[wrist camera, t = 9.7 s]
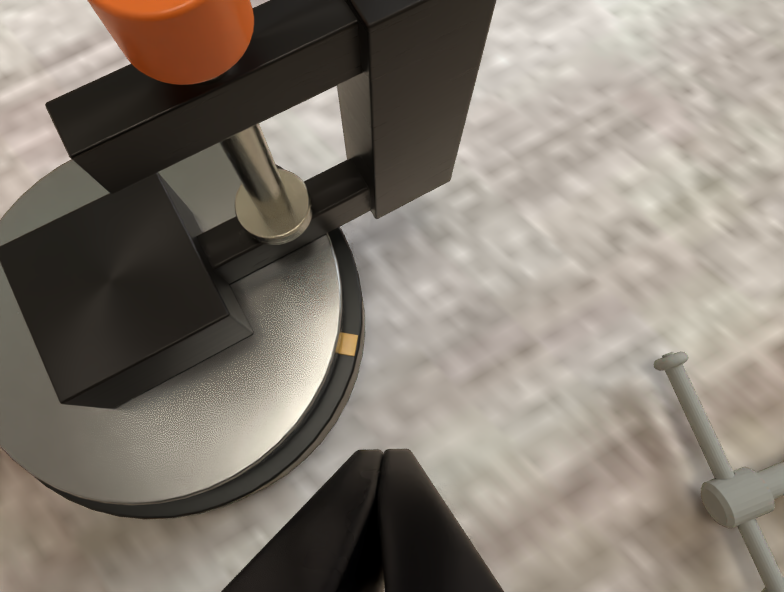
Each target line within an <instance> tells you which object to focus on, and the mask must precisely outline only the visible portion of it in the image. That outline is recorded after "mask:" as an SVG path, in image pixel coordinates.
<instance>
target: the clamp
mask: <svg viewBox="0 0 784 592" xmlns="http://www.w3.org/2000/svg"><path fill="white" fill-rule="evenodd" d="M662 357H663V358H660V359H658V360H656V361H655V362H654V367H655V369H657V370H660V371H661V370H665V372H666V374H667V376H668V378H669V380H670V382H671V385H672V387H673V389H674V391H675V393H676V395H677V397H678V400H679V402H680V404H681V406H682V408H683V410H684V413H685V415H686V417H687V419H688V421H689V423H690V425H691V428H692V430H693V432H694V434H695V436H696V438H697V441H698V443H699V445H700V447H701V449H702V451H703V453H704V456H705V458H706V460H707V462H708V464H709V466H710V468H711V471H712V473H713V475H714V477H715V479H712V480H710V481H707V482H705V483H703V484H702V488H701V499H702V502H703V504H704V506H705V508H706V510H707V511H708V513H709V514H710V516H711V517H712V518H713V519H714V520H715V521H716V522H717V523H719V524H721V525H723V526H725V527H727V528H733V527H736V526H737V527H738V529H739V531H740V533H741V535H742V537H743V539H744V542H745V544H746V546H747V548H748V550H749V552H750V554H751V557H752V559H753V561H754V563H755V565H756V567H757V570H758V572H759V574H760V576H761V578H762V580H763V582H764V585H765V588H764V589H763V590H762V591H761V592H784V578H783V576H782V574H781V571H780V569H779V567H778V565H777V563H776V561H775V559H774V557H773V554H772V552H771V550H770V548H769V546H768V544H767V542H766V540H765V538H764V535H763V533H762V531H761V529H760V527H759V525H758V523H757V521H756V518H758V517H760V516H762V515H765V514H767V513H770V512H771V511H773V510H774V507H775V502H774V499H775V498H778V497H780V496H783V495H784V461H783V462H781V463H778V464H776V465H774V466H771V467H769V468H766V469H764V470H761V471H759V472H755V471H754V470H752V469H750V468H747V467H742V468H739V469H737V470H735V471H733V470H732V468H731V466H730V463H729V461H728V459H727V457H726V455H725V453H724V451H723V449H722V447H721V444H720V442H719V440H718V438H717V436H716V434H715V432H714V430H713V428H712V425H711V423H710V421H709V419H708V417H707V415H706V413H705V411H704V408H703V406H702V404H701V402H700V400H699V398H698V396H697V394H696V392H695V389H694V387H693V385H692V383H691V381H690V379H689V377H688V375H687V372H686V370H685V368H684V366H683V363H685V362H686V361H687V360H688V355H687V354H686V353H685V352H677V353H673V352H671V353H668V354H665V355H663V356H662Z"/></svg>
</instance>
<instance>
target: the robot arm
mask: <svg viewBox="0 0 784 592" xmlns="http://www.w3.org/2000/svg"><path fill="white" fill-rule="evenodd" d="M384 588H385V592H504V591H503V589H502V588H501V586H500V585H499V583H498V582H497V580H496V579H495V577H494V576H493V574H492V573H491V571H490V570H489V568H488V567H487V565H486V564H485V562H484V561H483V559H482V558H481V556H480V555H479V553H478V552H477V550H476V549H475V547H474V546H473V544H472V542H471V541H470V539H469V538H468V536H467V535H466V533H465V532H464V530H463V529H462V527H461V526H460V524H459V523H458V521H457V520H456V518H455V517H454V515H453V514H452V512H451V511H450V509H449V508H448V506H447V505H446V503H445V502H444V500H443V499H442V497H441V496H440V494H439V492H438V491H437V489H436V488H435V486H434V485H433V483H432V482H431V480H430V479H429V477H428V476H427V474H426V473H425V471H424V470H423V468H422V467H421V465H420V464H419V462H418V461H417V459H416V458H415V456H414V455H413V453H412V452H411V451H410V450H409V449H387V450H386V451H385V452H384V454H383V452H382V451H381V450H379V449H374V450H358V451H356V452H355V453H354V454H353V455H352V456H351V457H350V458H349V459H348V460H347V461H346V462H345V463H344V464H343V465H342V466H341V467H340V468H339V469H338V470H337V472H336V473H335V474H334V475H333V476H332V477H331V478H330V479H329V480H328V481H327V482H326V483H325V484H324V485H323V486H322V487H321V488H320V489H319V490H318V491H317V492H316V493H315V494H314V495H313V497H312V498H311V499H310V500H309V501H308V502H307V503H306V504H305V505H304V506H303V507H302V508H301V509H300V510H299V511H298V512H297V513H296V514H295V515H294V516H293V517H292V518H291V519H290V520H289V522H288V523H287V524H286V525H285V526H284V527H283V528H282V529H281V530H280V531H279V532H278V533H277V534H276V535H275V536H274V537H273V538H272V539H271V540H270V541H269V542H268V543H267V544H266V545H265V547H264V548H263V549H262V550H261V551H260V552H259V553H258V554H257V555H256V556H255V557H254V558H253V559H252V560H251V561H250V562H249V563H248V564H247V565H246V566H245V567H244V568H243V569H242V570H241V572H240V573H239V574H238V575H237V576H236V577H235V578H234V579H233V580H232V581H231V582H230V583H229V584H228V585H227V586H226V587H225V588H224V589H223V590H222V591H221V592H384Z"/></svg>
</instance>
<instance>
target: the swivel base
mask: <svg viewBox="0 0 784 592" xmlns="http://www.w3.org/2000/svg"><path fill="white" fill-rule="evenodd" d="M275 165H276V164H275ZM276 167H277V168H278V169H283V168H281V167H280V166H278V165H276ZM328 235H329V237H330V240H331V243H332V246H333V249H334V252H335V255H336V258H337V262H338V265H339V269H340V274H341V280H342V286H343V291H344V324H343V334H342V341H341V345H340V349H339V353H338V358H337V361H336V364H335V367H334V369H333V372H332V375H331V377H330V380H329V383H328V385H327V387H326V389H325V391H324V392H323V394H322V396H321V398H320V400H319V402H318V404H317V405H316V407H315V408H314V410H313V411H312V413H311V414H310V415H309V417H308V418H307V420H306V421H305V423H304V424H303V425H302V427H301V428H300V429H299V430H298V431H297V432H296V433H295V434H294V435H293V436H292V437H291V439H290V440H289V441H288V442H287V443H286V444H285V445H284V446H283V447H282V448H280V449H279V450H278V451H277V452H276V453H275V454H273V455H272V456H271V457H270V458H269V459H267V460H266V461H265V462H263V463H262V464H260V465H259V466H257V467H256V468H254V469H253V470H251V471H250V472H248V473H247V474H245V475H244V476H241V477H239V478H237V479H235V480H233V481H231V482H229V483H227V484H225V485H223V486H221V487H218V488H215V489H212V490H209V491H206V492H203V493H200V494H197V495H194V496H191V497H188V498H184V499H179V500H174V501H169V502H164V503H159V504H142V505H123V504H111V503H102V502H98V501H94V500H89V499H85V498H80V497H77V496H75V495H72V494H69V493H67V492H64V491H61V490H59V489H56V488H54V487H52V486H51V485H49V484H47V483H45V482H44V481H42V480H40V479H38V478H36V477H35V476H34V477H35V478H36V479H38V480H39V481H40V482H41V483H42V484H44V485H45V486H46V487H48V488H49V489H51V490H53V491H54V492H56V493H58V494H59V495H61V496H63V497H64V498H66V499H68V500H70V501H72V502H75V503H77V504H79V505H82V506H84V507H87V508H89V509H91V510H95V511H99V512H103V513H107V514H111V515H115V516H119V517H128V518H138V519H168V518H178V517H183V516H189V515H195V514H200V513H204V512H207V511H210V510H213V509H216V508H220V507H223V506H226V505H228V504H231V503H233V502H235V501H238V500H240V499H242V498H244V497H247V496H249V495H251V494H253V493H255V492H257V491H260V490H262V489H264V488H266V487H268V486H269V485H271V484H272V483H274V482H275V481H277V480H279V479H280V478H282V477H283V476H285V475H287V474H288V473H289V472H290V471H291V470H293V469H294V468H295V467H296V466H297V465H299V464H300V463H301V462H302V461H304V460H305V459H306V458H307V457H308V456H309V455H310V454H311V453H312V452H313V450H314V449H315V448H316V447H317V446H318V445H319V444H320V443H321V442H322V441H323V440H324V438H325V437H326V435H327V434H328V433H329V431H330V430H331V428H332V427H333V426H334V424H335V423H336V422H337V420H338V418H339V416H340V414H341V413H342V411H343V409H344V407H345V405H346V403H347V402H348V400H349V397H350V395H351V392H352V389H353V387H354V384H355V382H356V379H357V376H358V372H359V368H360V364H361V360H362V355H363V346H364V337H365V314H364V305H363V299H362V293H361V286H360V280H359V274H358V271H357V268H356V264H355V261H354V258H353V254H352V251H351V249H350V247H349V245H348V243H347V240H346V238H345V236H344V234H343V232H342V230H341V228H340V227H338V228H336V229H334V230H332V231H330V232H328Z"/></svg>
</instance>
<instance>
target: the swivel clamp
mask: <svg viewBox="0 0 784 592" xmlns="http://www.w3.org/2000/svg"><path fill="white" fill-rule="evenodd" d="M88 2H89V3H90V5H91V6H92V8H93V9H94V11H95V12H96V14H97V15H98V17H99V18H100V19H101V21H102V22H103V24H104V25H105V27H106V28H107V30H108V31H109V33H110V34H111V36H112V37H113V39H114V40H115V41H116V43H117V44H118V46H119V47H120V49H121V50H122V52H123V53H124V55H125V56H126V58H127V59H128V60H129V61H130V63H131V64H130V65H128V66H125V67H123V68H121V69H119V70H117V71H114V72H112V73H110V74H108V75H106V76H104V77H101V78H99V79H97V80H95V81H93V82H90V83H88V84H86V85H84V86H82V87H79V88H77V89H75V90H73V91H71V92H69V93H66V94H64V95H62V96H60V97H58V98H55V99H53V100H51V101H49V102H47V103H46V104H45V106H46V108H47V111H48V113H49V115H50V117H51V119H52V121H53V123H54V125H55V127H56V130H57V132H58V134H59V136H60V138H61V140H62V142H63V144H64V146H65V149H66V151H67V153H68V155H69V157H70V158H71V160H70V161H68V162H66V163H64V164H62V165H60V166H59V167H57V168H56V169H54V170H53V171H52V172H50V173H49V174H47V175H46V176H44V177H43V178H41V179H40V180H39V181H38V182H36V183H35V184H34V185H33V186H32V187H31V188H30V189H28V190H27V191H26V192H25V193H24V194H23V195H22V196H21V197H20V198H19V199H18V200H17V201H16V202H15V203H14V204H13V205H12V207H11V208H10V209H9V210H8V211H7V212H6V213H5V214H4V216H3V217H2V218H1V220H0V447H1V448H2V449H3V450H4V451H5V452H6V453H7V454H8V455H9V456H10V457H11V458H12V459H13V460H14V461H15V462H16V463H18V464H19V465H20V466H21V467H23V468H24V469H25V470H27V471H28V472H29V473H30V474H32V475H33V476H35V477H36V478H38V479H40V480H42V481H44V482H45V483H47V484H49V485H51V486H52V487H54V488H56V489H59V490H61V491H64V492H67V493H69V494H72V495H75V496H77V497H80V498H85V499H89V500H94V501H98V502H102V503H111V504H123V505H142V504H159V503H164V502H169V501H174V500H179V499H184V498H188V497H191V496H194V495H197V494H200V493H203V492H206V491H209V490H212V489H215V488H218V487H221V486H223V485H225V484H227V483H229V482H231V481H233V480H235V479H237V478H239V477H241V476H244V475H245V474H247V473H248V472H250V471H251V470H253V469H254V468H256V467H257V466H259V465H260V464H262V463H263V462H265V461H266V460H267V459H269V458H270V457H271V456H272V455H273V454H275V453H276V452H277V451H278V450H279V449H280V448H282V447H283V446H284V445H285V444H286V443H287V442H288V441H289V440H290V439H291V437H292V436H293V435H294V434H295V433H296V432H297V431H298V430H299V429H300V428H301V427H302V425H303V424H304V423H305V421H306V420H307V418H308V417H309V415H310V414H311V413H312V411H313V410H314V408H315V407H316V405H317V404H318V402H319V400H320V398H321V396H322V394H323V392H324V391H325V389H326V387H327V385H328V383H329V380H330V377H331V375H332V372H333V369H334V367H335V364H336V361H337V358H338V353H339V349H340V345H341V341H342V334H343V324H344V291H343V286H342V280H341V274H340V269H339V265H338V262H337V258H336V255H335V252H334V249H333V246H332V243H331V240H330V237H329V235H328V232H330V231H332V230H334V229H336V228H338V227H340V226H342V225H344V224H345V223H347V222H349V221H351V220H353V219H355V218H357V217H359V216H361V215H363V214H365V213H367V212H368V211H370V210H371V212H372V214H373V216H374V217H375V218H376V219H378V218H380V217H382V216H384V215H386V214H388V213H390V212H392V211H393V210H395V209H397V208H399V207H401V206H403V205H405V204H407V203H409V202H411V201H413V200H414V199H416V198H418V197H420V196H422V195H424V194H426V193H428V192H430V191H432V190H434V189H435V188H437V187H439V186H441V185H443V184H445V183H447V182H449V181H450V180H451V176H452V172H453V168H454V164H455V160H456V156H457V152H458V148H459V144H460V140H461V137H462V133H463V129H464V125H465V121H466V117H467V113H468V109H469V105H470V101H471V97H472V93H473V89H474V86H475V82H476V78H477V74H478V70H479V66H480V62H481V58H482V54H483V50H484V46H485V42H486V39H487V35H488V31H489V27H490V23H491V19H492V15H493V11H494V7H495V3H496V0H270V1H268V2H265V3H263V4H261V5H259V6H257V7H254V8H252V6H251V2H250V0H88ZM335 86H337V90H338V97H339V104H340V111H341V119H342V126H343V133H344V141H345V148H346V155H347V160H346V161H344V162H342V163H340V164H338V165H336V166H334V167H332V168H330V169H328V170H326V171H324V172H322V173H320V174H318V175H316V176H314V177H312V178H310V179H308V180H306V181H304V182H303V181H302V179H301V178H299V177H298V176H297V175H295V174H294V173H292V172H290V171H287V170H284V169H278V168H277V167H276V165H275V162H274V160H273V157H272V155H271V152H270V150H269V147H268V145H267V142H266V140H265V137H264V135H263V132H262V130H261V127H260V125H259V123H260V122H263V121H265V120H267V119H269V118H271V117H273V116H275V115H277V114H279V113H281V112H283V111H285V110H287V109H289V108H291V107H293V106H295V105H298V104H300V103H302V102H304V101H306V100H308V99H310V98H312V97H314V96H316V95H318V94H320V93H322V92H324V91H326V90H328V89H330V88H333V87H335Z"/></svg>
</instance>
